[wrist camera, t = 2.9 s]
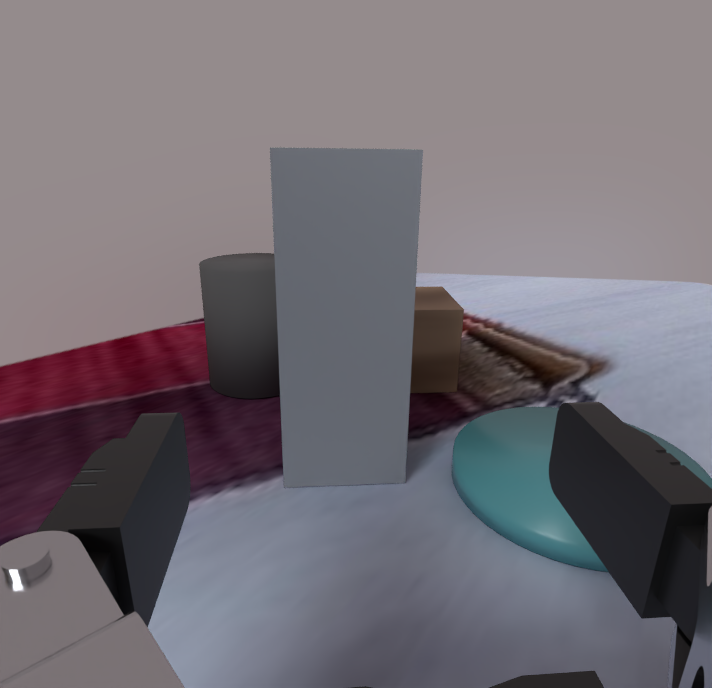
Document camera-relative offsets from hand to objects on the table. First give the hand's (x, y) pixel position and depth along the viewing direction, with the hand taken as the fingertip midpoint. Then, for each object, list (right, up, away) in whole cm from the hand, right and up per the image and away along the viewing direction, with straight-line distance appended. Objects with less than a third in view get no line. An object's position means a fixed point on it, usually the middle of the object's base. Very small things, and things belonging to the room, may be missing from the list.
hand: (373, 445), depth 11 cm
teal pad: (+9, -4, +11) cm, 14 cm away
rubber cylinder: (-6, 0, +20) cm, 21 cm away
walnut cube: (+3, 0, +21) cm, 21 cm away
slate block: (-1, -3, +13) cm, 13 cm away
